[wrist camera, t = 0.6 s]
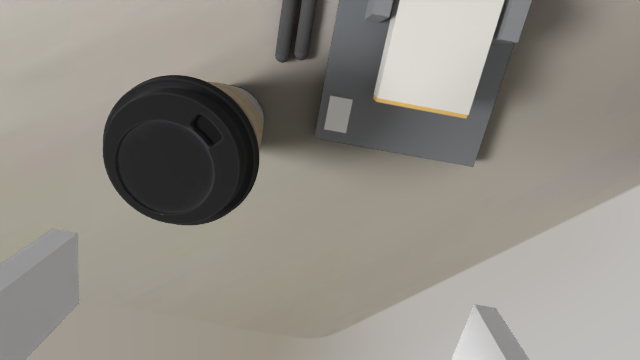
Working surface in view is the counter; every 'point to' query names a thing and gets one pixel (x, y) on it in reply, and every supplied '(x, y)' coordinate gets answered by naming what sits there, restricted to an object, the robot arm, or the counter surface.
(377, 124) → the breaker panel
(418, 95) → the plate
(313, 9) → the cords
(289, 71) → the counter surface
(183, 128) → the coffee cup
